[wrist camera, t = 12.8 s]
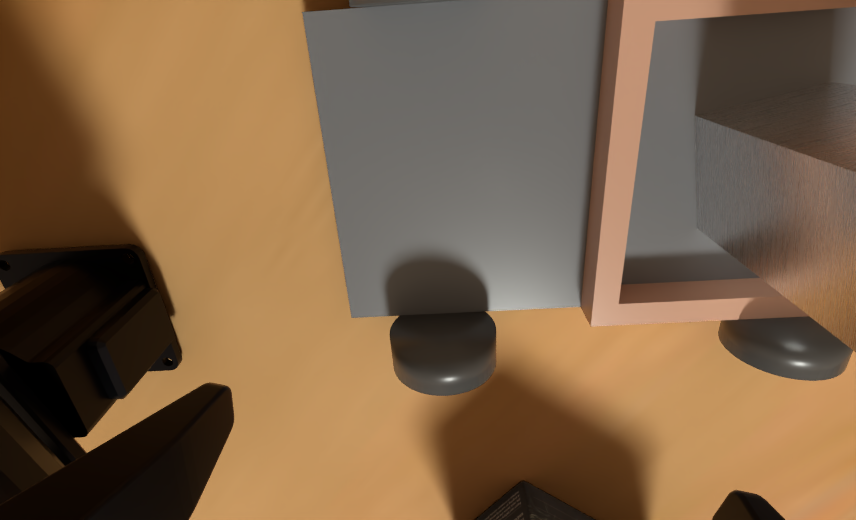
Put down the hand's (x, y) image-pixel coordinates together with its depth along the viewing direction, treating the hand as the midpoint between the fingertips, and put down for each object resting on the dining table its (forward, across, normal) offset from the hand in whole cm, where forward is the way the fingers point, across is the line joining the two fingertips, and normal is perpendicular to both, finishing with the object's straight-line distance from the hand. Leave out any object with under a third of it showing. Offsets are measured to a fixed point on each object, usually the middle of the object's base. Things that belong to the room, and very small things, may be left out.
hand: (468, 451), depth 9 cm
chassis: (+13, -4, -2) cm, 14 cm away
